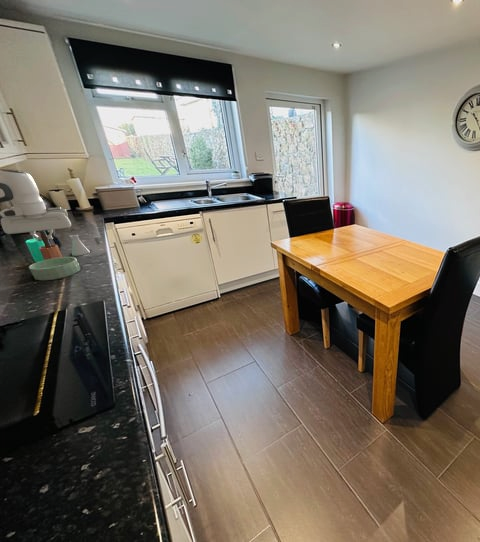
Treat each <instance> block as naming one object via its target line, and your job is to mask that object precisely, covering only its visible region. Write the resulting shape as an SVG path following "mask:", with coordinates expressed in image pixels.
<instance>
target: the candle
mask: <svg viewBox="0 0 480 542" xmlns="http://www.w3.org/2000/svg"><path fill="white" fill-rule="evenodd" d="M25 244H26V246H27V248H28V250H29V252H30V254H31V256H32V258H33V261H34V263H36V262H39V261H43V260H44V258H43V256H42V254H41V252H40V249H39V247H42V246H45V245H44V243H43V241H37V239H36V238H35V237H34V236H32V238H30V239H27V240H25Z"/></svg>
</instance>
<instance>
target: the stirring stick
mask: <svg viewBox="0 0 480 542" xmlns="http://www.w3.org/2000/svg"><path fill="white" fill-rule="evenodd" d="M45 231H46V230H43V231H37V232H38V234H39V236H41V238H42V240H43V243H44V245H45V247H46V248H51V245H52V244H51V243H50V240H48V239H47V237H46V236H47V234H46V232H45Z"/></svg>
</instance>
